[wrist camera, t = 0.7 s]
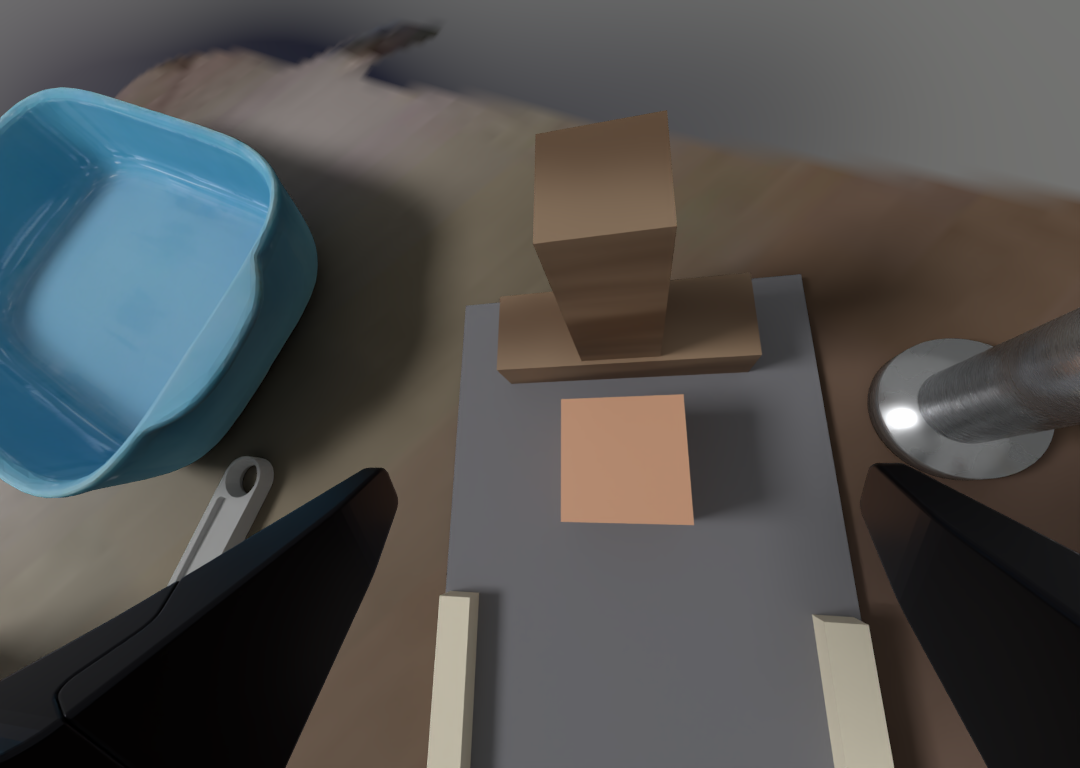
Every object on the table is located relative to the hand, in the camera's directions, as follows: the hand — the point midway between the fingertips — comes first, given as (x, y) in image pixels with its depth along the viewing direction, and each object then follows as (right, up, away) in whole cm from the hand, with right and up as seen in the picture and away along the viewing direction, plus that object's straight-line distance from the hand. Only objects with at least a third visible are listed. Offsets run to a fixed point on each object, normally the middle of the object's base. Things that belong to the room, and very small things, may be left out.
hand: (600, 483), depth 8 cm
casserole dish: (-30, +8, +24) cm, 40 cm away
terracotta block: (+3, -2, +12) cm, 13 cm away
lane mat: (+3, -5, +12) cm, 13 cm away
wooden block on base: (+3, +4, +14) cm, 15 cm away
